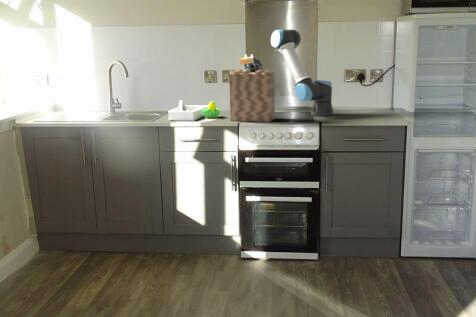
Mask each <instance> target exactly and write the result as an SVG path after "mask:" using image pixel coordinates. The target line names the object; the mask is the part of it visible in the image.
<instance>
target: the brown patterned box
mask: <svg viewBox="0 0 476 317" xmlns="http://www.w3.org/2000/svg"><path fill="white" fill-rule="evenodd" d="M228 76H229V107H230V108H229V109H230V112H229V113H230V122H255V123H256V122H260V123H261V122H262V123H264V122H265V123H270V122H272V121H273V120H275V116H276V115H275V110H276V109H275V106H276V105H275V103H276V102H275V95H276V94H275V91H276V90H275V71H270V70H266V71H262V70H258V71H255V72H250V71H249V69H245V70H241V69H237V70H234V71H233V72H232V73H229V75H228Z"/></svg>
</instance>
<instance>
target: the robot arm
mask: <svg viewBox="0 0 476 317" xmlns="http://www.w3.org/2000/svg"><path fill="white" fill-rule="evenodd" d="M301 42H302V35H301V34H300V32H299V31H297V30H296V29H276V30H274V31H273V32H272V34H271V37H270V44H271V46H272V47H273V48H274V49H276V50H277V49H278V51H279V52H280V53H282V54H283V56H284V57H283V58H284V61H285V62H286V65H287V66H288V68H289V71H290V73H291V75H292V77H293V80H294V81H295V84H294V86H295V87H294V96H295V97H296V99H297V100H298V101H300V102H304V103H305V102H312V101H313V105H312V108H311V111H310V114H311V116H315V117H331V116H334V115H335V111H334V108H333V104H332V98H333V94H332V93H333V85H332V81H330V80H322V79H321V80H319V79H315V80H314V81H313V79H312V77H310V76H308V74H307V72H306V70H305V68H304V66H303V64H302V61H301V59H300V57H299V56H298V53H297V51H296V49H298V47H299V46H300V45H301ZM247 57H248V55H247V54H244V58H247ZM250 57H251V60H252V62H254V65H253V64H252V63H249V64H243V66H244V69H245V70H250V71H249V72H255V71H258V70H261V69H263V65H262V64H261V63H260V59H257V58H256V57H255V56H254V55H253V54H250ZM257 64H258V65H257ZM248 66H249V67H248Z"/></svg>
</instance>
